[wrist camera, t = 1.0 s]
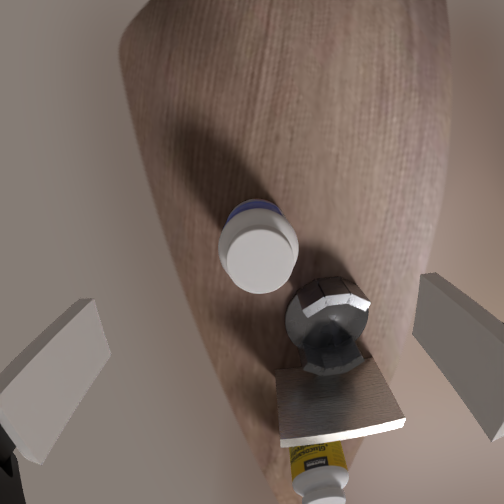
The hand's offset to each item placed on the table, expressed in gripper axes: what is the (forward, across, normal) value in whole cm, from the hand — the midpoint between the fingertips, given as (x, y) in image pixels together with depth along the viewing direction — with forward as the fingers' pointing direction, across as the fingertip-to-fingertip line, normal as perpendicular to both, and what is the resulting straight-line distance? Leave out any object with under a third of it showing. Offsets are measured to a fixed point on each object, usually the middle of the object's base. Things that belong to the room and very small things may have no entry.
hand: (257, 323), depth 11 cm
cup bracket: (+16, +6, -11) cm, 21 cm away
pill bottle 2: (+17, +5, -27) cm, 32 cm away
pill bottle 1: (+17, 0, 0) cm, 17 cm away
